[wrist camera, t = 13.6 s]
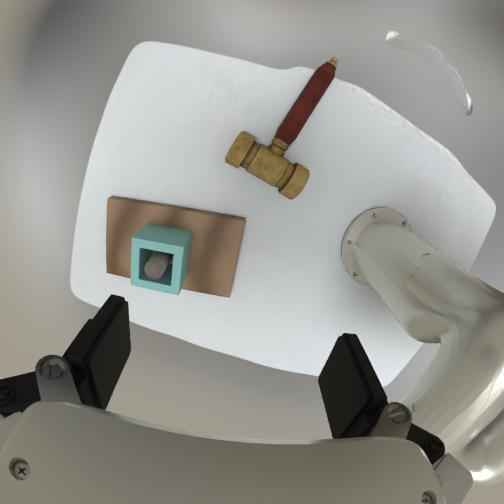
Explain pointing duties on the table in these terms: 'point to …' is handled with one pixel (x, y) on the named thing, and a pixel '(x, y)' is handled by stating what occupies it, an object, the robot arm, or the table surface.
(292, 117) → the gavel
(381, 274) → the robot arm
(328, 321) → the table surface
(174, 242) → the collar
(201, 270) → the post stand
